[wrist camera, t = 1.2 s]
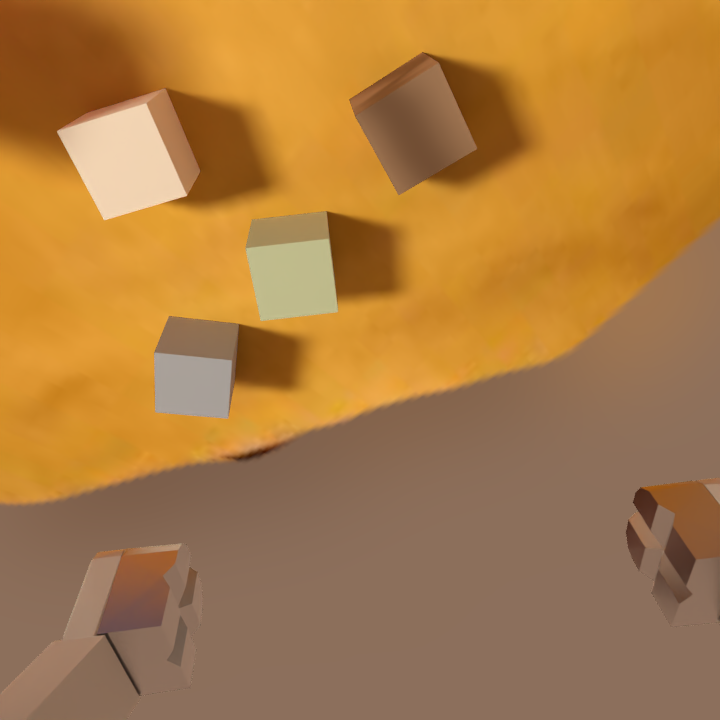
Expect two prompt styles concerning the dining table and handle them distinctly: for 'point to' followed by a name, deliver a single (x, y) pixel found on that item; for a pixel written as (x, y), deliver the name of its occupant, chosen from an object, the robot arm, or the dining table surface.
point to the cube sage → (292, 266)
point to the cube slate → (195, 367)
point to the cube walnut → (413, 122)
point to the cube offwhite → (132, 154)
